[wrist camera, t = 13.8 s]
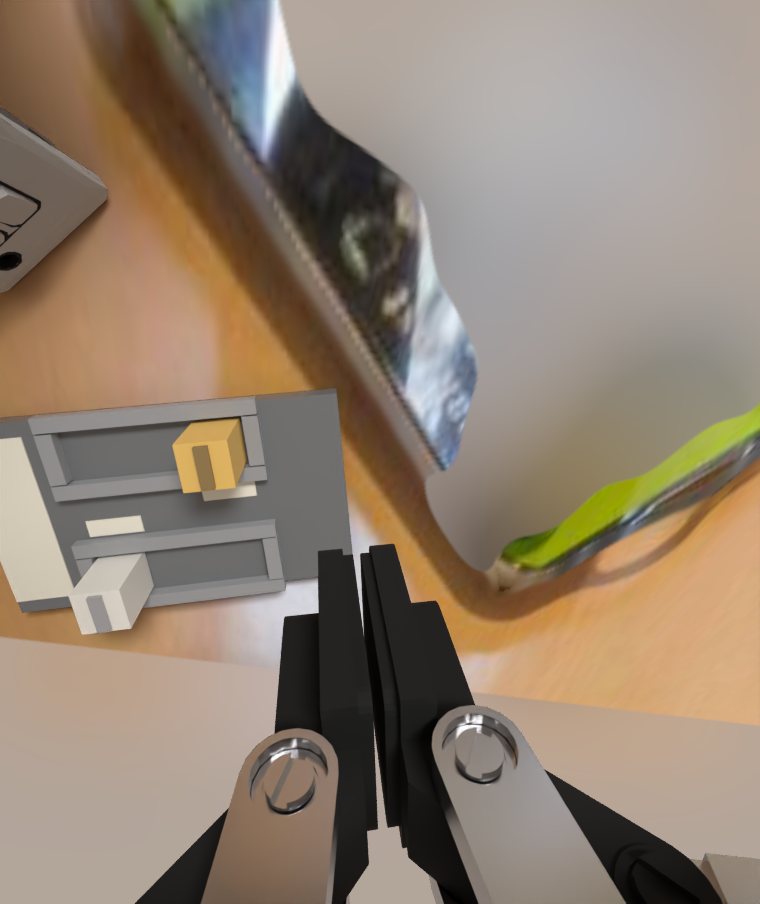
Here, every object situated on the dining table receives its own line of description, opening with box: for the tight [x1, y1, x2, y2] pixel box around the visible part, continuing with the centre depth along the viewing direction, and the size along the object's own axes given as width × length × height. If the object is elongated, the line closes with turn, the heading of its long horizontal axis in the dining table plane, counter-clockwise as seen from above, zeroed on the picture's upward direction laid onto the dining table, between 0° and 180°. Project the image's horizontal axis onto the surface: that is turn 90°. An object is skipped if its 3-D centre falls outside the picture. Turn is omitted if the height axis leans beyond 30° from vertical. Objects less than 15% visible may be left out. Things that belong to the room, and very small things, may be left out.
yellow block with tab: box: [172, 417, 247, 493], centre depth 29 cm, size 3×3×5 cm
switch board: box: [0, 388, 352, 613], centre depth 33 cm, size 15×24×2 cm, turn 93°
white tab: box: [68, 552, 154, 635], centre depth 32 cm, size 3×3×5 cm
